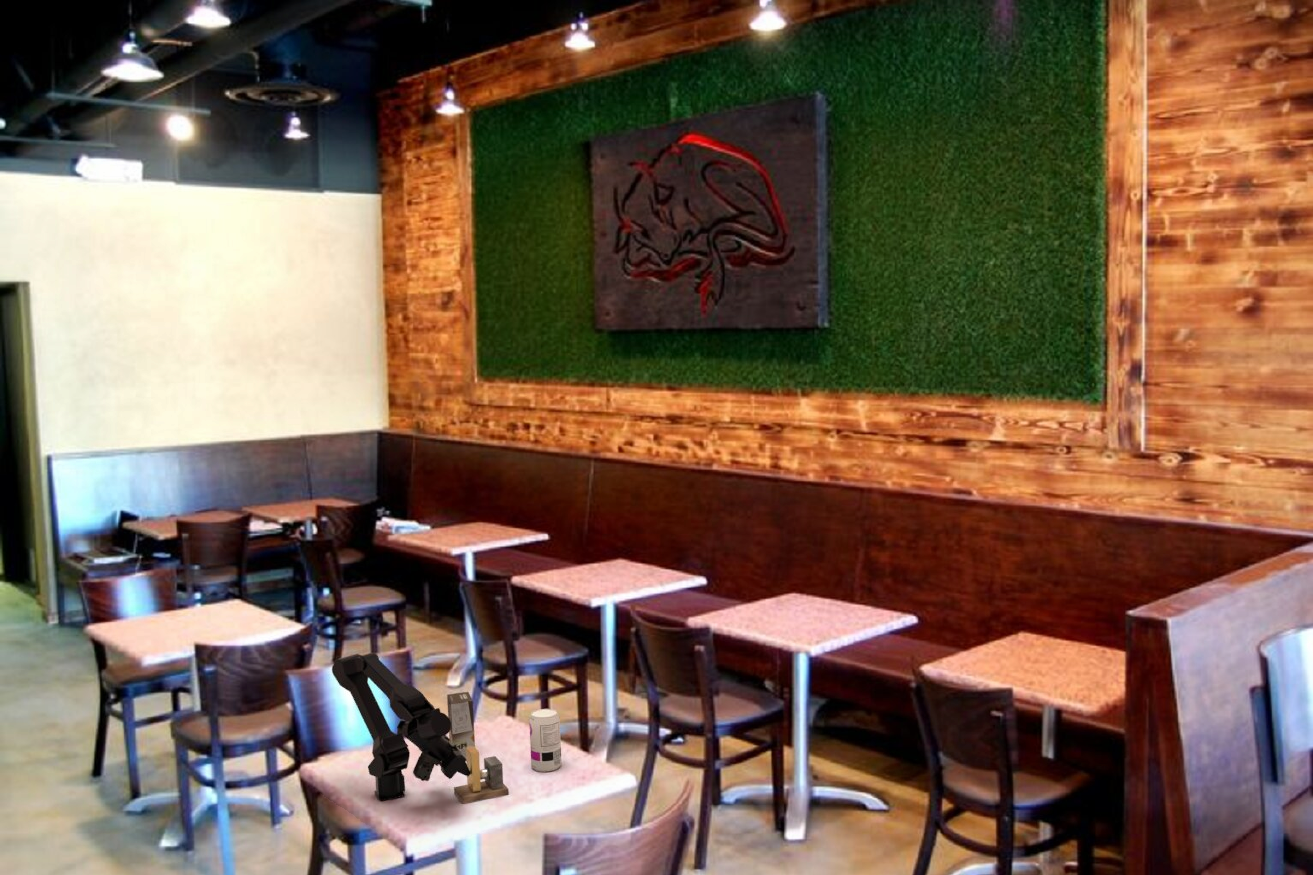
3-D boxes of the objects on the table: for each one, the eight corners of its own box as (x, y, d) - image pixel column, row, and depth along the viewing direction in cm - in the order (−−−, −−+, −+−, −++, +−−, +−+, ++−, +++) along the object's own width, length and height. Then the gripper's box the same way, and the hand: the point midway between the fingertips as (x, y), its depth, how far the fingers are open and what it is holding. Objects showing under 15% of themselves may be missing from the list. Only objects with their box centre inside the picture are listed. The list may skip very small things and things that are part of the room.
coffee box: (476, 756, 332) (473, 700, 330) (453, 759, 330) (450, 703, 328) (471, 745, 340) (468, 691, 339) (448, 748, 338) (446, 693, 337)
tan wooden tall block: (473, 791, 302) (471, 753, 301) (467, 785, 306) (465, 747, 305) (497, 787, 304) (495, 748, 303) (491, 780, 309) (489, 742, 308)
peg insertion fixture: (462, 803, 299) (461, 772, 298) (454, 792, 306) (452, 762, 306) (508, 794, 304) (507, 763, 304) (498, 783, 312) (497, 754, 311)
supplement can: (527, 771, 319) (524, 717, 318) (537, 760, 327) (535, 707, 326) (555, 773, 317) (553, 718, 316) (565, 762, 325) (563, 708, 324)
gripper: (394, 751, 304) (438, 787, 309) (411, 776, 287) (457, 813, 293) (425, 717, 307) (467, 753, 312) (443, 739, 290) (488, 777, 295)
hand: (469, 774), depth 303 cm, fingers closed
